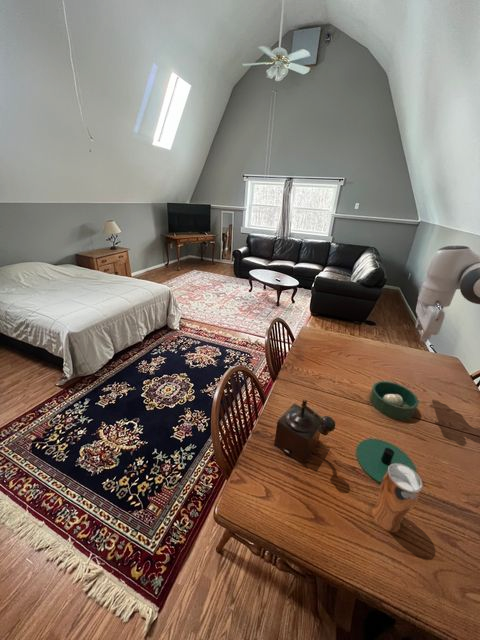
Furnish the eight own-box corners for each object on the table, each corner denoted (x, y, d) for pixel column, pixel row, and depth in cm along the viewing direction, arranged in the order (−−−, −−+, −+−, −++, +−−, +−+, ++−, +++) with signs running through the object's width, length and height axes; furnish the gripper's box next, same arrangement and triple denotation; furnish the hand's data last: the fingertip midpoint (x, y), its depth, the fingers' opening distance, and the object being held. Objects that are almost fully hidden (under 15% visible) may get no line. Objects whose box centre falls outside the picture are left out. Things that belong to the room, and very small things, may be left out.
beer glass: (364, 516, 63) (381, 474, 57) (377, 497, 68) (394, 456, 61) (394, 543, 59) (416, 500, 52) (407, 521, 63) (428, 479, 57)
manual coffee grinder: (271, 445, 80) (278, 398, 73) (289, 424, 88) (297, 379, 81) (320, 477, 72) (333, 428, 64) (335, 450, 80) (348, 404, 72)
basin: (397, 392, 106) (401, 381, 104) (422, 420, 93) (428, 408, 90) (362, 392, 105) (365, 381, 102) (382, 421, 91) (387, 409, 89)
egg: (396, 400, 101) (399, 391, 99) (403, 408, 97) (407, 399, 95) (378, 400, 100) (382, 391, 98) (385, 409, 96) (388, 399, 94)
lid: (394, 440, 84) (398, 428, 82) (429, 489, 70) (436, 477, 68) (346, 441, 83) (350, 429, 81) (372, 492, 69) (377, 479, 67)
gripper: (455, 309, 76) (437, 351, 82) (439, 290, 93) (426, 325, 99) (429, 305, 78) (414, 346, 84) (419, 287, 95) (406, 322, 101)
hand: (420, 334), depth 92 cm, fingers open, 8 cm apart
